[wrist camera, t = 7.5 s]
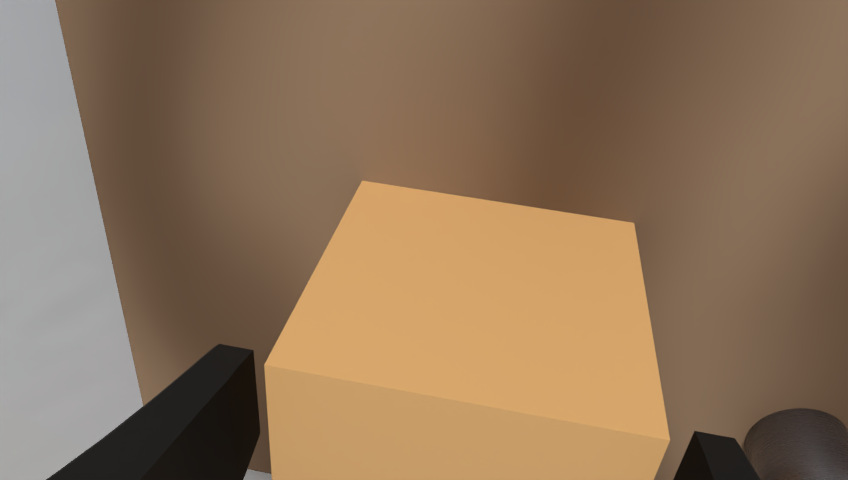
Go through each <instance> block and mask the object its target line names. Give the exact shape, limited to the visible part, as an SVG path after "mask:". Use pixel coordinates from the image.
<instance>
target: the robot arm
mask: <svg viewBox="0 0 848 480" xmlns="http://www.w3.org/2000/svg"><path fill="white" fill-rule="evenodd" d="M259 436H260V421H259V409H258V397H257V386H256V374H255V362H254V351H253V350H251V349H245V348H240V347H234V346H229V345H223V344H218V345H216V346H215V347H213V348H212V349H211V350H210V351H209V352H207V353H206V354H205V355H204V356H203V357H201V358H200V359H199V360H198V361H197V362H196V363H194V364H193V365H192V366H191V367H190V368H189V369H187V370H186V371H185V372H184V373H183V374H181V375H180V376H179V377H178V378H177V379H176V380H174V381H173V382H172V383H171V384H170V385H168V386H167V387H166V388H165V389H164V390H162V391H161V392H160V393H159V394H158V395H156V396H155V397H154V398H153V399H152V400H150V401H149V402H148V403H147V404H145V405H144V406H143V407H142V408H140V409H139V410H138V411H137V412H135V413H134V414H133V415H132V416H130V417H129V418H128V419H127V420H125V421H124V422H123V423H122V424H120V425H119V426H118V427H117V428H115V429H114V430H113V431H112V432H110V433H109V434H108V435H107V436H105V437H104V438H103V439H101V440H100V441H99V442H97V443H96V444H95V445H93V446H92V447H90V448H89V449H88V450H86V451H85V452H84V453H82V454H81V455H80V456H78V457H77V458H75V459H74V460H73V461H71V462H70V463H69V464H67V465H66V466H65V467H63V468H62V469H60V470H59V471H58V472H56V473H55V474H54V475H52V476H51V477H49V478H48V479H46V480H243V479H244V476H245V474H246V471H247V468H248V466H249V463H250V461H251V458H252V455H253V452H254V450H255V447H256V444H257V441H258V439H259ZM673 480H761V479H760V477H759V476H758V474H757V472H756V471H755V469H754V468H753V466H752V464H751V463H750V461H749V459H748V458H747V456H746V455H745V453H744V451H743V450H742V448H741V446H740V445H739V443H738V442H737V441H736V439H735V438H731V437H726V436H720V435H715V434H709V433H704V432H698V431H694V433H693V435H692V438H691V440H690V442H689V445H688V447H687V449H686V451H685V454H684V456H683V458H682V461H681V463H680V465H679V467H678V470H677V472H676V474H675V477H674V479H673Z"/></svg>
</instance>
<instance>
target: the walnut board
mask: <svg viewBox="0 0 848 480" xmlns="http://www.w3.org/2000/svg"><path fill="white" fill-rule="evenodd" d="M55 2H56V6H57V11H58V16H59V20H60V25H61V29H62V34H63V39H64V43H65V48H66V52H67V57H68V62H69V66H70V71H71V75H72V80H73V84H74V89H75V94H76V98H77V103H78V107H79V112H80V117H81V121H82V126H83V130H84V135H85V140H86V144H87V149H88V153H89V158H90V163H91V167H92V172H93V176H94V181H95V186H96V190H97V195H98V199H99V204H100V208H101V213H102V218H103V222H104V227H105V231H106V236H107V241H108V245H109V250H110V254H111V259H112V264H113V268H114V273H115V277H116V282H117V287H118V291H119V296H120V300H121V305H122V310H123V314H124V319H125V323H126V328H127V333H128V337H129V342H130V346H131V351H132V355H133V360H134V365H135V369H136V374H137V378H138V383H139V388H140V392H141V397H142V401H143V406H144V405H145V404H147V403H148V402H149V401H150V400H152V399H153V398H154V397H155V396H156V395H158V394H159V393H160V392H161V391H162V390H164V389H165V388H166V387H167V386H168V385H170V384H171V383H172V382H173V381H174V380H176V379H177V378H178V377H179V376H180V375H181V374H183V373H184V372H185V371H186V370H187V369H189V368H190V367H191V366H192V365H193V364H194V363H196V362H197V361H198V360H199V359H200V358H201V357H203V356H204V355H205V354H206V353H207V352H209V351H210V350H211V349H212V348H213V347H215V346H216V345H218V344H223V345H229V346H234V347H240V348H245V349H251V350H253V351H254V362H255V374H256V386H257V397H258V409H259V421H260V436H259V439H258V441H257V444H256V447H255V450H254V452H253V455H252V458H251V461H250V463H249V466H248V468H247V469H251V470H256V471H261V472H266V473H271V474H272V472H271V458H270V443H269V428H268V414H267V399H266V384H265V369H264V364H265V362H266V361H267V359H268V357H269V355H270V353H271V351H272V349H273V347H274V345H275V344H276V342H277V340H278V338H279V336H280V334H281V332H282V330H283V329H284V327H285V325H286V323H287V321H288V319H289V317H290V315H291V313H292V312H293V310H294V308H295V306H296V304H297V302H298V300H299V298H300V297H301V295H302V293H303V291H304V289H305V287H306V285H307V283H308V281H309V280H310V278H311V276H312V274H313V272H314V270H315V268H316V266H317V265H318V263H319V261H320V259H321V257H322V255H323V253H324V251H325V250H326V248H327V246H328V244H329V242H330V240H331V238H332V236H333V234H334V233H335V231H336V229H337V227H338V225H339V223H340V221H341V219H342V218H343V216H344V214H345V212H346V210H347V208H348V206H349V204H350V202H351V201H352V199H353V197H354V195H355V193H356V191H357V189H358V187H359V186H360V184H361V182H362V181H368V182H374V183H381V184H387V185H394V186H400V187H406V188H413V189H419V190H426V191H432V192H439V193H445V194H451V195H458V196H464V197H471V198H477V199H484V200H490V201H496V202H503V203H509V204H516V205H522V206H528V207H535V208H541V209H548V210H554V211H561V212H567V213H573V214H580V215H586V216H593V217H599V218H606V219H612V220H618V221H625V222H631V223H634V225H635V231H636V237H637V243H638V249H639V255H640V261H641V267H642V273H643V279H644V285H645V291H646V297H647V304H648V310H649V316H650V322H651V328H652V334H653V340H654V346H655V352H656V358H657V364H658V370H659V376H660V382H661V388H662V394H663V400H664V406H665V412H666V418H667V424H668V430H669V436H670V442H669V444H668V447H667V449H666V451H665V454H664V456H663V459H662V461H661V463H660V466H659V468H658V471H657V473H656V475H655V478H654V480H673V479H674V477H675V474H676V472H677V470H678V467H679V465H680V463H681V461H682V458H683V456H684V454H685V451H686V449H687V447H688V445H689V442H690V440H691V438H692V435H693V433H694V431H698V432H704V433H709V434H715V435H720V436H726V437H731V438H735V439H736V441H737V442H738V443H739V445H740V446H741V448H742V450H743V451H744V453H745V455H746V456H747V454H746V450H745V437H746V435H747V433H748V431H749V430H750V428H751V427H752V426H753V425H754V424H755V423H756V422H758V421H759V420H760V419H762V418H764V417H766V416H767V415H770V414H772V413H775V412H778V411H782V410H787V409H795V408H807V409H815V410H820V411H823V412H826V413H829V414H831V415H833V416H835V417H836V418H838V419H839V420H840V421H842V422H843V424H844V425H845V426H846V428H847V429H848V0H55ZM747 458H748V457H747Z"/></svg>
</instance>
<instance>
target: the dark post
mask: <svg viewBox="0 0 848 480" xmlns="http://www.w3.org/2000/svg"><path fill="white" fill-rule="evenodd" d="M745 450H746V454H747V457H748V459H749V461H750V463H751V464H752V466H753V468H754V469H755V471H756V472H757V474H758V476H759V477H760V479H761V480H848V429H847V428H846V426H845V425H844V424H843V422H842V421H840V420H839V419H838V418H836V417H835V416H833V415H831V414H829V413H826V412H823V411H820V410H815V409H807V408H795V409H787V410H782V411H778V412H775V413H772V414H770V415H767V416H766V417H764V418H762V419H760V420H759V421H758V422H756V423H755V424H754V425H753V426H752V427H751V428H750V430H749V431H748V433H747V435H746V437H745Z"/></svg>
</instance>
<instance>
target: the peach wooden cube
mask: <svg viewBox="0 0 848 480" xmlns="http://www.w3.org/2000/svg"><path fill="white" fill-rule="evenodd" d="M264 369H265V384H266V399H267V414H268V428H269V443H270V458H271V472H272V480H654V478H655V475H656V473H657V471H658V468H659V466H660V463H661V461H662V459H663V456H664V454H665V451H666V449H667V447H668V444H669V442H670V436H669V430H668V424H667V418H666V412H665V406H664V400H663V394H662V388H661V382H660V376H659V370H658V364H657V358H656V352H655V346H654V340H653V334H652V328H651V322H650V316H649V310H648V304H647V297H646V291H645V285H644V279H643V273H642V267H641V261H640V255H639V249H638V243H637V237H636V231H635V225H634V223H631V222H625V221H618V220H612V219H606V218H599V217H593V216H586V215H580V214H573V213H567V212H561V211H554V210H548V209H541V208H535V207H528V206H522V205H516V204H509V203H503V202H496V201H490V200H484V199H477V198H471V197H464V196H458V195H451V194H445V193H439V192H432V191H426V190H419V189H413V188H406V187H400V186H394V185H387V184H381V183H374V182H368V181H362V182H361V184H360V186H359V187H358V189H357V191H356V193H355V195H354V197H353V199H352V201H351V202H350V204H349V206H348V208H347V210H346V212H345V214H344V216H343V218H342V219H341V221H340V223H339V225H338V227H337V229H336V231H335V233H334V234H333V236H332V238H331V240H330V242H329V244H328V246H327V248H326V250H325V251H324V253H323V255H322V257H321V259H320V261H319V263H318V265H317V266H316V268H315V270H314V272H313V274H312V276H311V278H310V280H309V281H308V283H307V285H306V287H305V289H304V291H303V293H302V295H301V297H300V298H299V300H298V302H297V304H296V306H295V308H294V310H293V312H292V313H291V315H290V317H289V319H288V321H287V323H286V325H285V327H284V329H283V330H282V332H281V334H280V336H279V338H278V340H277V342H276V344H275V345H274V347H273V349H272V351H271V353H270V355H269V357H268V359H267V361H266V362H265V364H264Z"/></svg>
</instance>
